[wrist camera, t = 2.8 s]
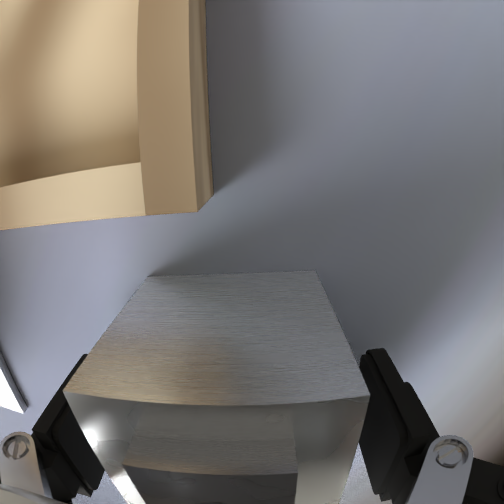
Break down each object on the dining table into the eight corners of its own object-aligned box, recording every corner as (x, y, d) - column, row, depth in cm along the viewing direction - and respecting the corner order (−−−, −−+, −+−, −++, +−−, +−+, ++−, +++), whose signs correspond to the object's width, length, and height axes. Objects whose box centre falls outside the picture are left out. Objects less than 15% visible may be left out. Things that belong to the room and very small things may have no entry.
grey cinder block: (314, 269, 10) (384, 428, 4) (306, 426, 13) (325, 562, 6) (148, 275, 11) (44, 417, 4) (182, 428, 13) (153, 558, 6)
